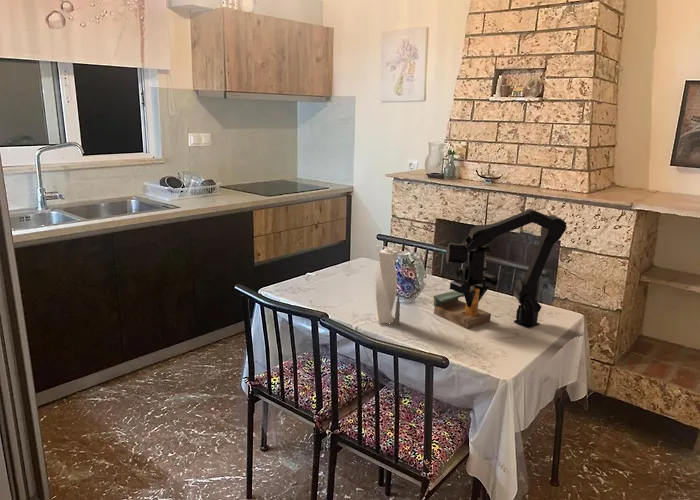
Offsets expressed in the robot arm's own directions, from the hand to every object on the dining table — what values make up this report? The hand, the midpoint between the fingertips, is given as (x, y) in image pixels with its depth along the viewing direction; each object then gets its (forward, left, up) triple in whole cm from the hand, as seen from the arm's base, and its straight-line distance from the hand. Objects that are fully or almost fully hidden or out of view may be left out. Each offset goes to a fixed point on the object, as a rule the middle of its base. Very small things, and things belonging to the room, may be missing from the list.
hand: (471, 306), depth 184 cm
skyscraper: (+16, +26, -6) cm, 31 cm away
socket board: (+4, 0, -6) cm, 7 cm away
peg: (0, 0, -4) cm, 4 cm away
